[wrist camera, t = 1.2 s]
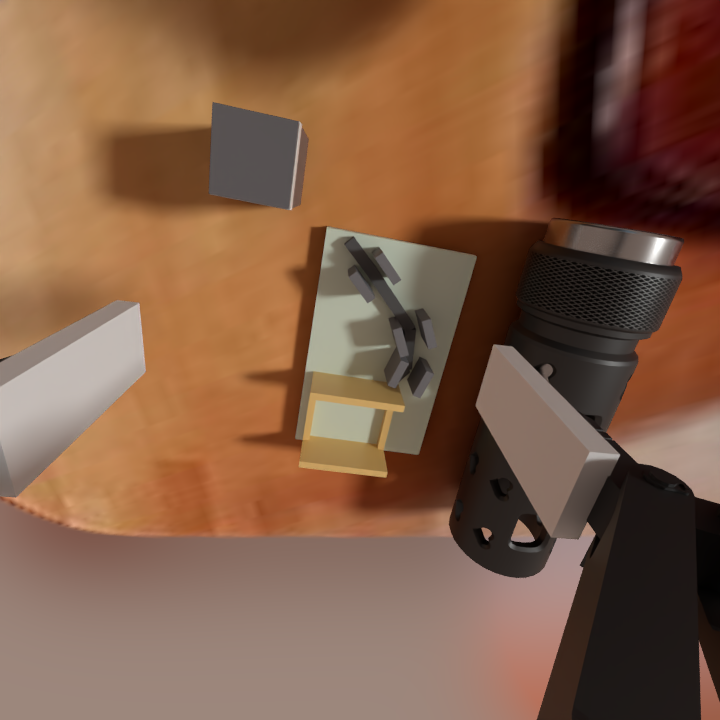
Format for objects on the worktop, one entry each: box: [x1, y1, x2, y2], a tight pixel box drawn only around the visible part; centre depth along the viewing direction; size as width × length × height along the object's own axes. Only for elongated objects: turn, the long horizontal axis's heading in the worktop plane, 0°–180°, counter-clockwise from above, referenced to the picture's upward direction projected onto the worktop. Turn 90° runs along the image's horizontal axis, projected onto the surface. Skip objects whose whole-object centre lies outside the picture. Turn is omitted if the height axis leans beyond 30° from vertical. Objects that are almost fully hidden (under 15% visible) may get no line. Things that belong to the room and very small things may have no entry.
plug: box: [209, 102, 309, 210], centre depth 26 cm, size 5×5×8 cm
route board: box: [295, 226, 477, 455], centre depth 34 cm, size 19×12×4 cm, turn 170°
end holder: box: [299, 371, 405, 478], centre depth 35 cm, size 7×8×4 cm
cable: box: [344, 236, 416, 382], centre depth 32 cm, size 13×3×1 cm, turn 20°
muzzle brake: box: [449, 218, 684, 578], centre depth 33 cm, size 10×28×10 cm, turn 171°
